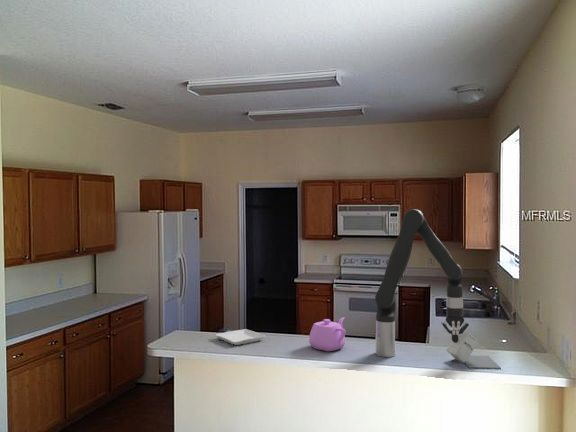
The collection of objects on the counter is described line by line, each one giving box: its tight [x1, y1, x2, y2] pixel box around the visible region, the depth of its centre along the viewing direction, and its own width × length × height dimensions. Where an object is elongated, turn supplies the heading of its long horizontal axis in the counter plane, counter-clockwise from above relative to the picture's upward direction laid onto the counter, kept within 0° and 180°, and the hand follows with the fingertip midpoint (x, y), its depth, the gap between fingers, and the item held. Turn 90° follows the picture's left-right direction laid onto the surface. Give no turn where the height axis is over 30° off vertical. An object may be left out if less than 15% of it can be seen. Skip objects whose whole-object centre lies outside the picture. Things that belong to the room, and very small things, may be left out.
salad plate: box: [214, 328, 266, 346], centre depth 273 cm, size 21×21×3 cm
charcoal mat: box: [464, 354, 502, 370], centre depth 232 cm, size 14×18×1 cm
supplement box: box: [445, 330, 480, 364], centre depth 234 cm, size 7×7×13 cm
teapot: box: [308, 316, 347, 352], centre depth 258 cm, size 23×21×15 cm
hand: (455, 342), depth 233 cm, fingers closed
